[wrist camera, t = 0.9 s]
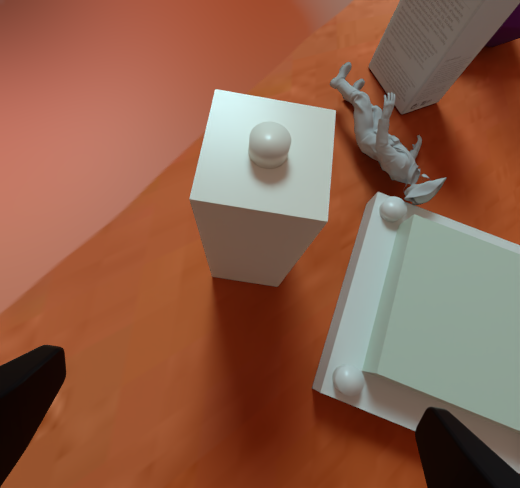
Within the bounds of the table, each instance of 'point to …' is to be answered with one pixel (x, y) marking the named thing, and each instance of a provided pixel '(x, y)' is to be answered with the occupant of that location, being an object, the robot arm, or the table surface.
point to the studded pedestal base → (428, 325)
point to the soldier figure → (384, 139)
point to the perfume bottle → (507, 29)
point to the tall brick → (261, 185)
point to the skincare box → (433, 46)
